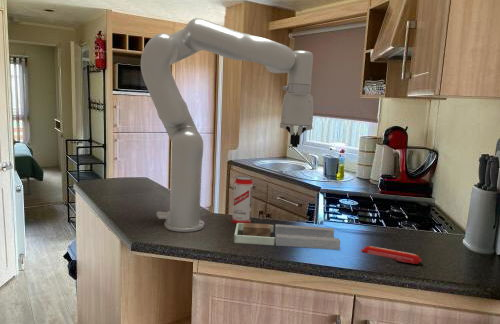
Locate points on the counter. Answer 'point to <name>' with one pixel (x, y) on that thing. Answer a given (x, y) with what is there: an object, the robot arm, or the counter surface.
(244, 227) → the walnut block
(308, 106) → the robot arm
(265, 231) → the walnut block
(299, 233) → the slot channel
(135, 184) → the counter surface
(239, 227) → the tray
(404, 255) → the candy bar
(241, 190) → the beer can
